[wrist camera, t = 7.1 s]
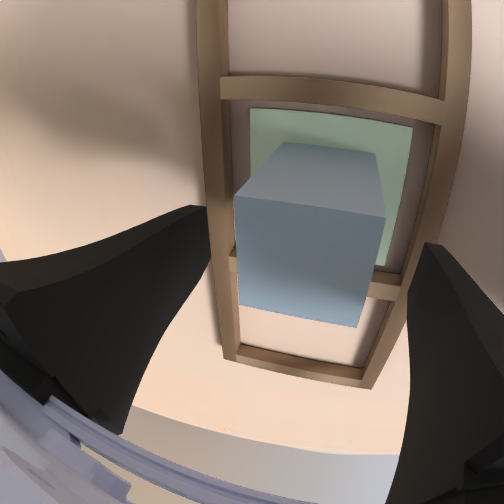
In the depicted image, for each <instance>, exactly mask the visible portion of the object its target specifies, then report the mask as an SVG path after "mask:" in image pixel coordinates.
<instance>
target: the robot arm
mask: <svg viewBox="0 0 504 504" xmlns="http://www.w3.org/2000/svg"><path fill="white" fill-rule="evenodd" d="M210 258H211V249H210V239H209V228H208V218H207V207H204V206H196V205H188V206H184V207H181V208H178V209H176V210H173V211H171V212H168V213H166V214H163V215H161V216H159V217H156V218H154V219H152V220H149V221H147V222H145V223H143V224H140V225H138V226H135V227H133V228H130V229H128V230H126V231H123V232H121V233H118V234H116V235H113V236H111V237H108V238H106V239H103V240H100V241H97V242H94V243H91V244H88V245H85V246H82V247H78V248H74V249H71V250H67V251H63V252H60V253H56V254H52V255H47V256H42V257H37V258H31V259H26V260H19V261H10V262H1V263H0V504H135V503H133V502H132V501H130V500H128V499H126V495H127V493H128V492H129V490H130V488H131V484H130V483H129V482H127V481H126V480H124V479H123V478H121V477H119V476H118V475H116V474H115V473H113V472H112V471H110V470H109V469H108V468H106V467H105V466H104V465H102V464H101V463H100V462H99V461H97V460H96V459H94V458H93V457H91V456H90V455H88V454H87V453H85V452H84V451H83V450H81V445H80V443H82V444H83V445H85V446H86V447H88V448H90V449H91V450H93V451H95V452H96V453H98V454H99V455H101V456H103V457H104V458H106V459H108V460H109V461H111V462H113V463H115V464H116V465H118V466H120V467H122V468H123V469H126V470H127V471H129V472H131V473H133V474H135V475H137V476H139V477H141V478H143V479H145V480H147V481H149V482H151V483H153V484H155V485H157V486H159V487H162V488H164V489H166V490H169V491H171V492H173V493H175V494H178V495H180V496H183V497H185V498H188V499H190V500H193V501H195V502H198V503H201V504H316V503H311V502H305V501H300V500H294V499H290V498H285V497H280V496H276V495H271V494H268V493H264V492H260V491H256V490H252V489H248V488H245V487H242V486H238V485H235V484H232V483H228V482H225V481H222V480H219V479H216V478H213V477H210V476H207V475H205V474H202V473H199V472H197V471H194V470H191V469H189V468H186V467H183V466H181V465H179V464H176V463H173V462H171V461H169V460H167V459H165V458H162V457H160V456H158V455H156V454H153V453H151V452H149V451H147V450H145V449H143V448H141V447H139V446H137V445H134V444H133V443H131V442H129V441H127V440H125V439H123V438H121V437H119V436H117V435H119V434H122V432H123V429H124V425H125V422H126V419H127V416H128V413H129V410H130V407H131V405H132V402H133V399H134V397H135V394H136V392H137V389H138V387H139V384H140V382H141V379H142V377H143V375H144V372H145V370H146V368H147V366H148V364H149V361H150V359H151V357H152V355H153V353H154V351H155V349H156V347H157V345H158V343H159V341H160V339H161V337H162V336H163V334H164V332H165V331H166V329H167V327H168V326H169V324H170V323H171V321H172V320H173V318H174V317H175V315H176V314H177V312H178V311H179V310H180V308H181V307H182V305H183V304H184V302H185V301H186V299H187V298H188V297H189V295H190V294H191V292H192V291H193V289H194V288H195V286H196V285H197V283H198V282H199V280H200V279H201V277H202V275H203V273H204V271H205V269H206V267H207V265H208V262H209V260H210ZM407 329H408V343H409V358H410V396H409V405H408V414H407V421H406V427H405V433H404V438H403V443H402V448H401V452H400V456H399V461H398V465H397V469H396V472H395V476H394V479H393V482H392V485H391V488H390V491H389V494H388V497H387V500H386V503H385V504H504V315H503V314H502V312H501V311H500V310H499V309H498V308H497V307H496V306H495V305H494V304H493V302H492V301H491V300H490V299H489V298H488V297H487V296H486V295H485V293H484V292H483V291H482V290H481V289H480V288H479V286H478V285H477V284H476V283H475V282H474V281H473V279H472V278H471V277H470V276H469V275H468V273H467V272H466V271H465V270H464V269H463V267H462V266H461V265H460V264H459V263H458V262H457V261H456V259H455V258H454V257H453V256H452V255H451V254H450V253H449V252H448V251H447V250H446V249H445V248H444V247H443V246H442V245H437V244H432V243H427V242H425V243H424V246H423V249H422V252H421V255H420V258H419V261H418V264H417V267H416V270H415V273H414V276H413V278H412V281H411V284H410V287H409V289H408V292H407Z"/></svg>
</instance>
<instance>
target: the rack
mask: <svg viewBox="0 0 504 504" xmlns="http://www.w3.org/2000/svg"><path fill="white" fill-rule="evenodd" d="M196 27H197V60H198V84H199V104H200V122H201V138H202V153H203V166H204V179H205V192H206V204H207V215H208V226H209V236H210V246H211V256H212V266H213V275H214V284H215V293H216V301H217V310H218V318H219V326H220V334H221V342H222V349H223V357H224V359H226V360H230V361H234V362H238V363H241V364H245V365H249V366H253V367H257V368H261V369H265V370H270V371H274V372H278V373H283V374H287V375H292V376H297V377H302V378H306V379H311V380H317V381H322V382H327V383H333V384H339V385H345V386H351V387H357V388H364V389H372V387H373V385H374V384H375V382H376V380H377V378H378V376H379V375H380V373H381V371H382V369H383V367H384V365H385V363H386V361H387V359H388V357H389V355H390V353H391V351H392V349H393V347H394V345H395V343H396V341H397V339H398V337H399V335H400V333H401V330H402V328H403V326H404V324H405V322H406V319H407V292H408V289H409V287H410V284H411V281H412V278H413V276H414V273H415V270H416V267H417V264H418V261H419V258H420V255H421V252H422V249H423V246H424V243H425V242H427V243H432V244H436V241H437V238H438V235H439V232H440V228H441V225H442V222H443V218H444V215H445V211H446V208H447V204H448V200H449V197H450V193H451V189H452V185H453V180H454V176H455V172H456V167H457V163H458V158H459V153H460V148H461V142H462V137H463V131H464V124H465V118H466V110H467V102H468V93H469V83H470V71H471V52H472V10H471V0H442V57H441V74H440V86H439V96H438V99H437V98H433V97H429V96H425V95H421V94H416V93H412V92H407V91H402V90H397V89H392V88H387V87H381V86H375V85H369V84H362V83H355V82H347V81H339V80H330V79H319V78H306V77H290V76H229V59H228V2H227V0H196ZM230 99H238V100H272V101H289V102H303V103H314V104H324V105H333V106H341V107H349V108H356V109H363V110H369V111H375V112H381V113H387V114H392V115H397V116H402V117H407V118H412V119H416V120H421V121H425V122H429V123H434V124H435V128H434V135H433V141H432V147H431V153H430V158H429V164H428V169H427V174H426V179H425V183H424V188H423V192H422V197H421V201H420V205H419V209H418V213H417V217H416V221H415V225H414V228H413V232H412V236H411V239H410V243H409V246H408V250H407V253H406V256H405V259H404V263H403V266H402V269H401V272H400V275H399V274H393V273H387V272H382V271H376V270H374V271H373V274H372V278H371V282H370V285H369V289H368V292H367V296H366V297H371V298H377V299H383V300H389V301H390V304H389V307H388V309H387V312H386V315H385V317H384V320H383V322H382V325H381V327H380V330H379V332H378V335H377V337H376V340H375V342H374V345H373V347H372V349H371V352H370V354H369V356H368V358H367V361H366V363H365V365H364V367H363V369H360V368H354V367H348V366H342V365H337V364H331V363H326V362H320V361H315V360H310V359H305V358H300V357H295V356H290V355H286V354H281V353H277V352H272V351H268V350H263V349H259V348H255V347H251V346H247V345H243V344H240V327H239V309H238V291H237V273H238V272H237V251H236V246H235V231H234V209H233V185H232V159H231V130H230ZM412 132H413V128H412V127H409V126H404V125H399V124H394V123H388V122H383V121H377V120H371V119H365V118H358V117H351V116H344V115H336V114H328V113H319V112H309V111H298V110H285V109H268V108H250V177H251V176H252V175H253V174H254V173H255V172H256V171H257V169H258V168H259V167H260V166H261V165H262V164H263V163H264V162H265V161H266V160H267V159H268V158H269V156H270V155H271V154H272V153H273V152H274V151H275V150H276V149H277V148H278V147H279V146H280V145H281V144H282V143H283V142H291V143H300V144H310V145H318V146H326V147H334V148H341V149H348V150H355V151H361V152H367V153H373V154H375V156H376V161H377V166H378V171H379V176H380V182H381V187H382V193H383V200H384V206H385V213H386V221H385V226H384V230H383V235H382V239H381V243H380V247H379V251H378V255H377V259H376V263H375V265H381V266H384V265H385V261H386V258H387V254H388V250H389V247H390V243H391V239H392V235H393V231H394V227H395V223H396V218H397V214H398V210H399V205H400V201H401V196H402V191H403V186H404V181H405V175H406V170H407V164H408V159H409V152H410V146H411V139H412Z"/></svg>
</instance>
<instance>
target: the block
mask: <svg viewBox="0 0 504 504" xmlns="http://www.w3.org/2000/svg"><path fill="white" fill-rule="evenodd" d="M234 207H235V230H236V251H237V272H238V291H239V305H243V306H247V307H252V308H256V309H261V310H266V311H271V312H276V313H280V314H285V315H290V316H295V317H301V318H306V319H311V320H316V321H322V322H327V323H332V324H338V325H344V326H349V327H355V328H357V325H358V322H359V319H360V315H361V312H362V309H363V306H364V302H365V299H366V296H367V292H368V289H369V285H370V282H371V278H372V274H373V271H374V267H375V263H376V259H377V255H378V251H379V247H380V243H381V239H382V235H383V230H384V226H385V221H386V213H385V206H384V200H383V193H382V187H381V182H380V176H379V171H378V166H377V161H376V156H375V154H373V153H367V152H361V151H355V150H348V149H341V148H334V147H326V146H318V145H310V144H300V143H291V142H283V143H282V144H281V145H280V146H279V147H278V148H277V149H276V150H275V151H274V152H273V153H272V154H271V155H270V156H269V158H268V159H267V160H266V161H265V162H264V163H263V164H262V165H261V166H260V167H259V168H258V169H257V171H256V172H255V173H254V174H253V175H252V176H251V177H250V178H249V179H248V180H247V182H246V183H245V184H244V185H243V186H242V187H241V188H240V189H239V190H238V192H237V193H236V194H235V195H234Z"/></svg>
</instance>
